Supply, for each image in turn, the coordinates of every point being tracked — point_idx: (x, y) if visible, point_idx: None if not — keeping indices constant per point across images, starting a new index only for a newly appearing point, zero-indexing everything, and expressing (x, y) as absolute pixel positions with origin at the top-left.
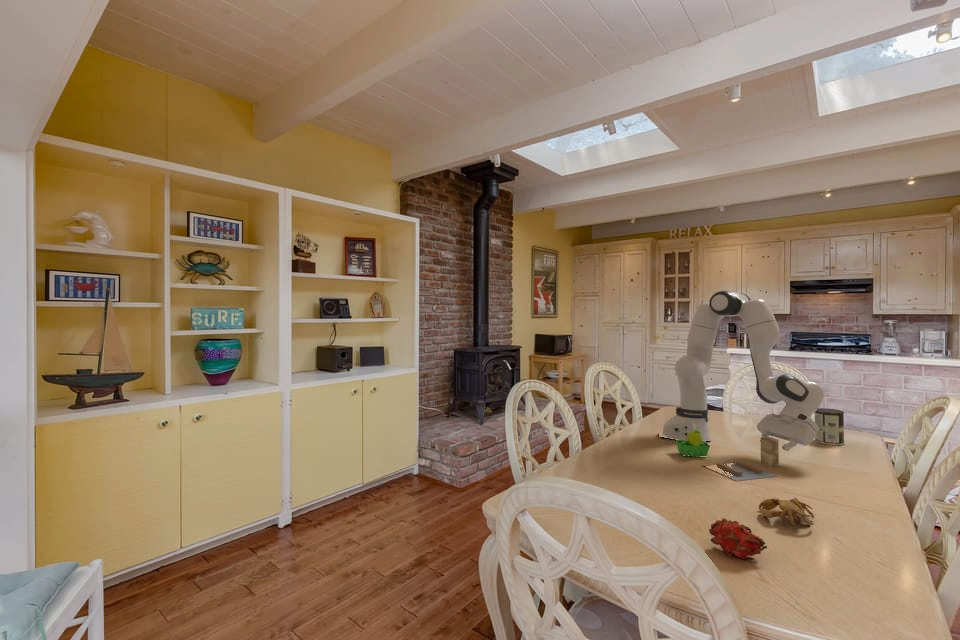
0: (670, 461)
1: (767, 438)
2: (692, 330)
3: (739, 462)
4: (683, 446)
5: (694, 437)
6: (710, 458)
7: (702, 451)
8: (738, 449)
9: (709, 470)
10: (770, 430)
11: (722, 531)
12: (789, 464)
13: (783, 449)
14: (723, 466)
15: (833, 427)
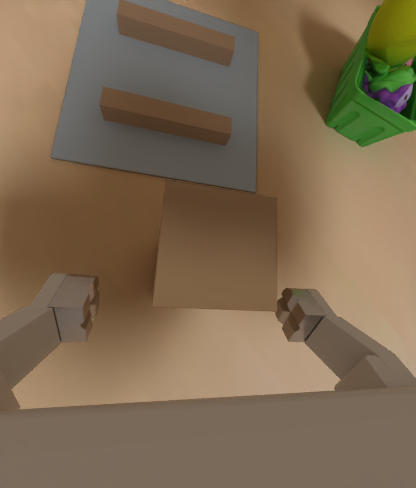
0: (316, 3)
1: (228, 227)
2: None
3: (211, 113)
4: (373, 12)
5: None
6: (313, 126)
7: (344, 89)
8: (383, 331)
9: (214, 13)
10: (365, 408)
11: None
12: (148, 377)
13: (97, 292)
14: (198, 26)
15: None
